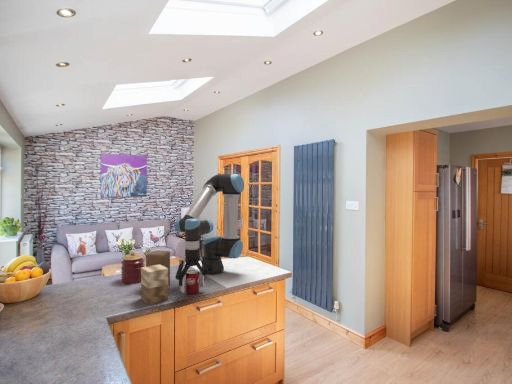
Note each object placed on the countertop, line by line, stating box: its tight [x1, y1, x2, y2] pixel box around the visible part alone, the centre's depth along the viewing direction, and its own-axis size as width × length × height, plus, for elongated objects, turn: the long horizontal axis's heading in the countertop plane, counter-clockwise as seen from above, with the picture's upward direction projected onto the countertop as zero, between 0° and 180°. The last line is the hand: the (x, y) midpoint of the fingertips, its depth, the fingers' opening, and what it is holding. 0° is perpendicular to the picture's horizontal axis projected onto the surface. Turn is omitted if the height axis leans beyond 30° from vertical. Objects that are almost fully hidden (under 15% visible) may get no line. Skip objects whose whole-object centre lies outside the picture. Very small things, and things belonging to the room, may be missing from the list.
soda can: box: [184, 269, 200, 297], centre depth 160 cm, size 7×7×12 cm
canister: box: [120, 251, 145, 285], centre depth 180 cm, size 13×13×18 cm
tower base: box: [140, 283, 169, 306], centre depth 153 cm, size 10×10×8 cm
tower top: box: [140, 264, 168, 289], centre depth 152 cm, size 10×10×8 cm
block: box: [145, 249, 171, 287], centre depth 169 cm, size 10×10×20 cm
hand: (192, 289), depth 160 cm, fingers open, 11 cm apart
